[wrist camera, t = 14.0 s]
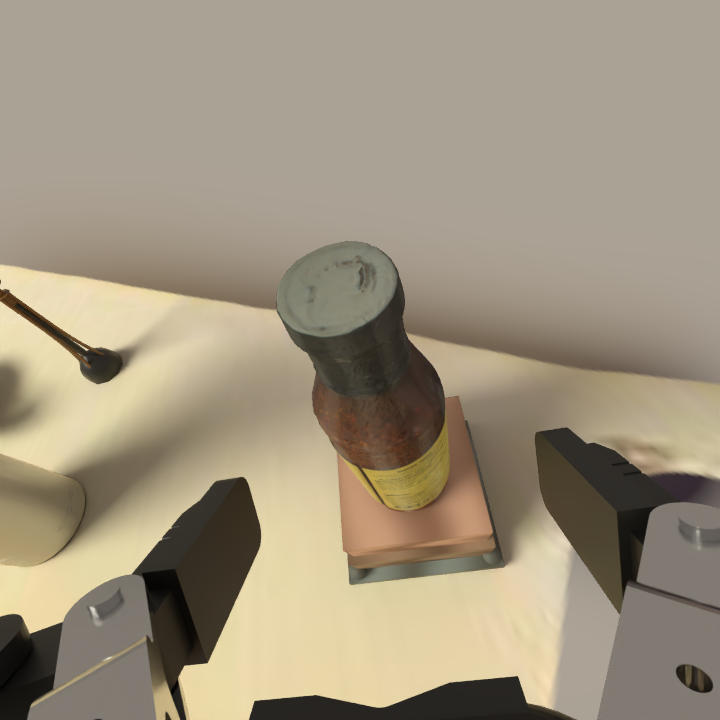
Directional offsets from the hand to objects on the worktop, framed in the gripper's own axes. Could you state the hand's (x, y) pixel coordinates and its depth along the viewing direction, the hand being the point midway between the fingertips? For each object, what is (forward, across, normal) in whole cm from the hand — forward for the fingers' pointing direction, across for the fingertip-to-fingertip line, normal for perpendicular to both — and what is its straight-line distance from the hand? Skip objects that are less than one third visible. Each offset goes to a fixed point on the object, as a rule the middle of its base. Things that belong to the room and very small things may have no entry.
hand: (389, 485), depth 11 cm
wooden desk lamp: (+40, +38, 0) cm, 55 cm away
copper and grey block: (+24, 0, +16) cm, 28 cm away
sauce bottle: (+17, 0, +9) cm, 19 cm away
